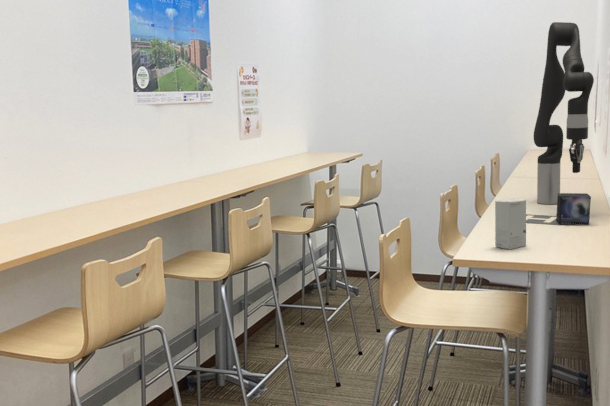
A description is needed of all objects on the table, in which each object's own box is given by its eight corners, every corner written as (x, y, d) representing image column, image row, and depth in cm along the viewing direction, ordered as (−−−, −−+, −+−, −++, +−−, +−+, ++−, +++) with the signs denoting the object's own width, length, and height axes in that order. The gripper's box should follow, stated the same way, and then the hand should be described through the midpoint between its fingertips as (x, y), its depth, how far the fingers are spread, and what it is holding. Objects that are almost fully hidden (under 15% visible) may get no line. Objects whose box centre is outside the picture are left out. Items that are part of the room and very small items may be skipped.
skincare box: (509, 250, 215) (509, 202, 213) (494, 247, 220) (494, 200, 218) (527, 245, 220) (527, 199, 218) (511, 243, 225) (511, 197, 223)
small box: (558, 224, 251) (559, 195, 249) (555, 221, 257) (556, 192, 255) (590, 224, 249) (591, 195, 247) (586, 221, 255) (587, 193, 253)
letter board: (518, 214, 276) (518, 213, 276) (571, 217, 264) (571, 216, 264) (505, 221, 262) (505, 220, 262) (560, 225, 251) (560, 224, 251)
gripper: (583, 127, 254) (582, 174, 257) (592, 125, 265) (590, 170, 268) (562, 127, 258) (561, 174, 261) (571, 125, 269) (570, 170, 272)
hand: (576, 172), depth 264 cm, fingers closed
